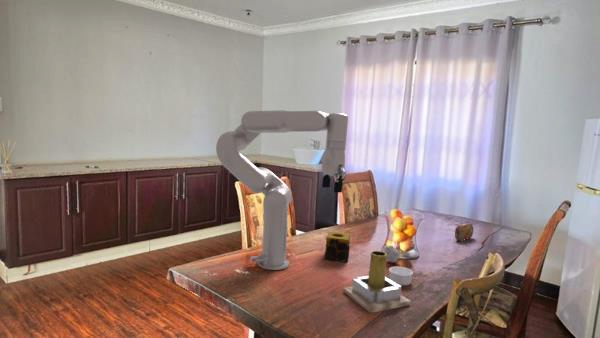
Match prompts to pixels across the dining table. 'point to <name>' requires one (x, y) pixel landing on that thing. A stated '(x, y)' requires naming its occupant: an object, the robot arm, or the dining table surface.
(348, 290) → the stand board
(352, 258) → the dining table surface
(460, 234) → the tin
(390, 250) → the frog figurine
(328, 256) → the dark olive cube holder
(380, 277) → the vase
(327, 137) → the robot arm
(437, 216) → the dining table surface
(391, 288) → the collar
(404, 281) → the ramekin
